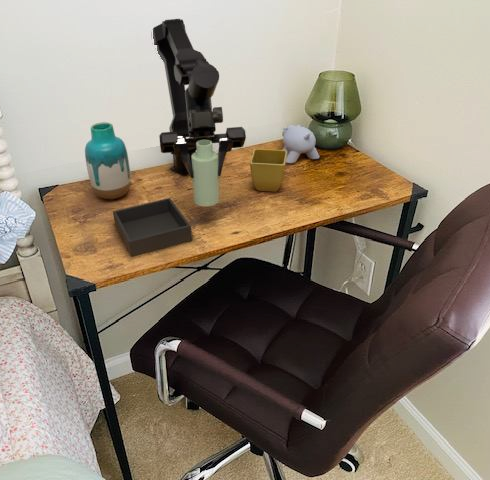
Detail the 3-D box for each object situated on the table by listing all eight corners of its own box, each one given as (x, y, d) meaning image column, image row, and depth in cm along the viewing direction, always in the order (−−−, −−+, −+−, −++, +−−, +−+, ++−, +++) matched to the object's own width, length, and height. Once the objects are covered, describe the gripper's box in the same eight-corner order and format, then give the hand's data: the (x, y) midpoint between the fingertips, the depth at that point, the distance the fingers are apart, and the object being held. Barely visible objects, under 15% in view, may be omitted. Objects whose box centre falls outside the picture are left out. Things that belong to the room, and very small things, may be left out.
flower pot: (283, 196, 125) (284, 164, 120) (249, 194, 127) (249, 162, 122) (285, 180, 132) (287, 150, 127) (253, 179, 134) (253, 148, 129)
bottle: (189, 201, 112) (185, 143, 104) (205, 191, 115) (203, 135, 107) (207, 209, 108) (204, 150, 100) (224, 199, 112) (223, 141, 104)
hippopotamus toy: (302, 142, 153) (304, 112, 148) (325, 161, 141) (328, 130, 136) (270, 147, 151) (271, 117, 146) (290, 167, 139) (292, 135, 134)
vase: (141, 193, 129) (132, 124, 119) (109, 209, 123) (96, 138, 112) (116, 182, 136) (105, 115, 125) (84, 196, 129) (70, 127, 118)
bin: (115, 225, 117) (112, 211, 115) (171, 211, 121) (169, 197, 119) (131, 257, 106) (128, 241, 104) (192, 240, 110) (191, 225, 108)
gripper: (155, 96, 101) (161, 168, 98) (244, 90, 102) (253, 161, 99) (158, 119, 112) (163, 184, 109) (239, 113, 113) (246, 178, 110)
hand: (205, 177), depth 107 cm, fingers closed on bottle, 6 cm apart
